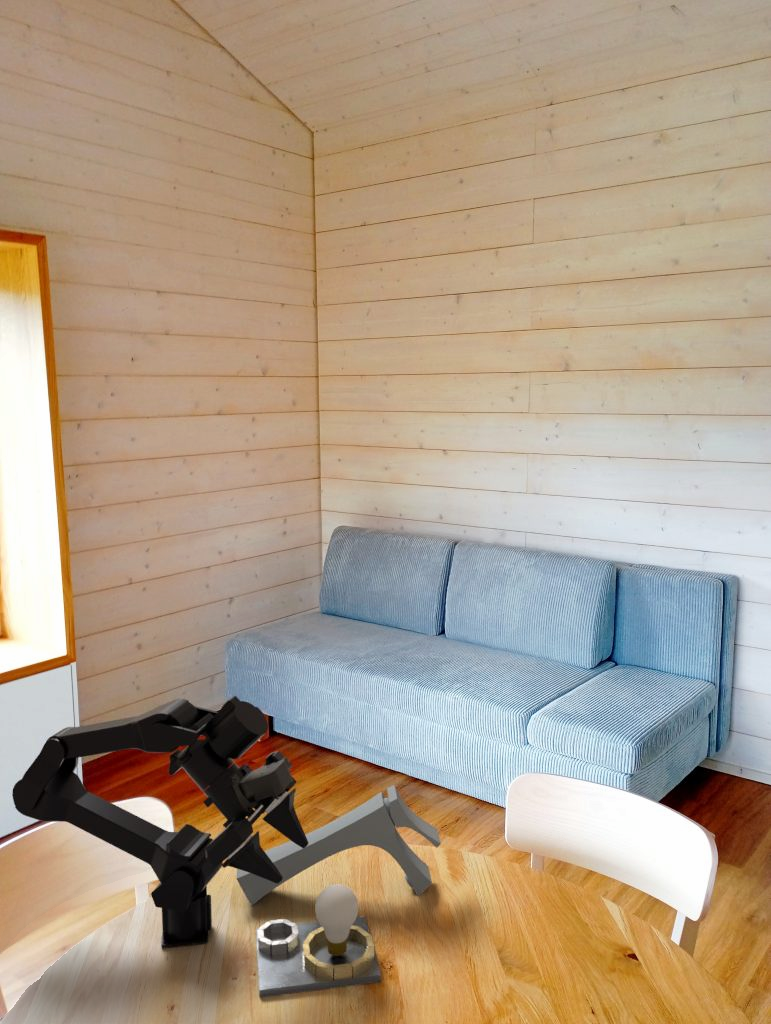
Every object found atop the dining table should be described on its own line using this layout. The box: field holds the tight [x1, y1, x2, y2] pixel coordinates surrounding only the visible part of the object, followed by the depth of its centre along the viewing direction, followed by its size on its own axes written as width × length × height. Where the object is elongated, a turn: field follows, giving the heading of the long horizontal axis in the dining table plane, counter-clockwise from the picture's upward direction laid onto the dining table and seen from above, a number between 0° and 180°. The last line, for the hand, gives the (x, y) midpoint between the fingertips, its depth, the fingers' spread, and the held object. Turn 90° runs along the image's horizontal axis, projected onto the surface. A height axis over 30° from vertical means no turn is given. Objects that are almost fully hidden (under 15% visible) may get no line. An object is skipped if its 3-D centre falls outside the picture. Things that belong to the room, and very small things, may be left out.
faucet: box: [236, 784, 442, 906], centre depth 134 cm, size 6×17×30 cm
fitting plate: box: [255, 915, 382, 998], centre depth 118 cm, size 16×13×2 cm
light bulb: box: [314, 883, 359, 957], centre depth 117 cm, size 6×6×10 cm
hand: (293, 863), depth 117 cm, fingers open, 9 cm apart
